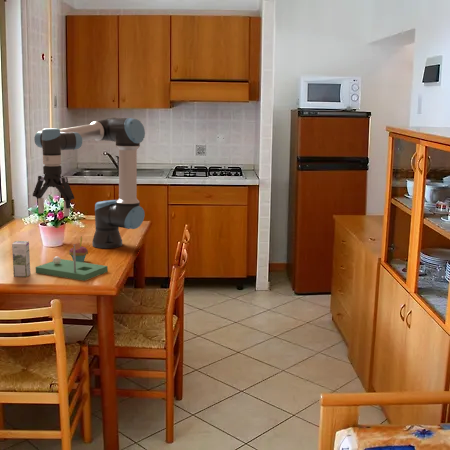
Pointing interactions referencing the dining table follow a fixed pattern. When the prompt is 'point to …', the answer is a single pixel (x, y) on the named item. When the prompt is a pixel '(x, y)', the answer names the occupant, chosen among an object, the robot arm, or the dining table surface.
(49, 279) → the dining table surface
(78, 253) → the cupcake
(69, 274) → the putting mat
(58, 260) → the ball
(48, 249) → the dining table surface
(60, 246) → the dining table surface
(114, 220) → the robot arm
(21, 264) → the syrup box
